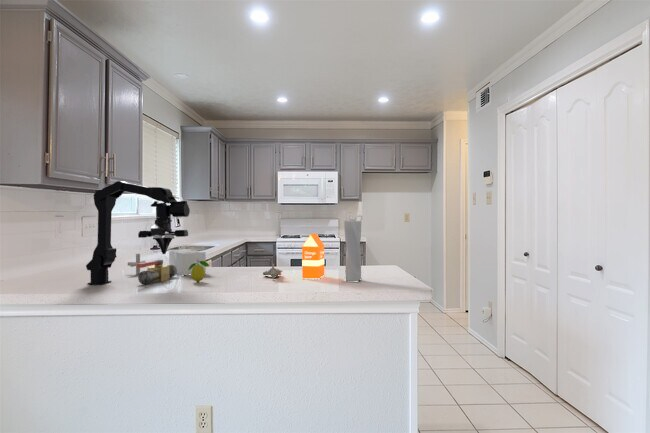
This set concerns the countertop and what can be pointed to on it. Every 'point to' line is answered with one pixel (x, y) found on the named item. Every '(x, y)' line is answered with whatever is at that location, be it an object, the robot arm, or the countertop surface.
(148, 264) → the lever
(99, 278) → the robot arm
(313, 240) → the orange juice
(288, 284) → the countertop surface
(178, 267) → the storage container
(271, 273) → the valve
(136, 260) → the pipe connector
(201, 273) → the lemon
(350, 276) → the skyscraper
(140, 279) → the valve body
